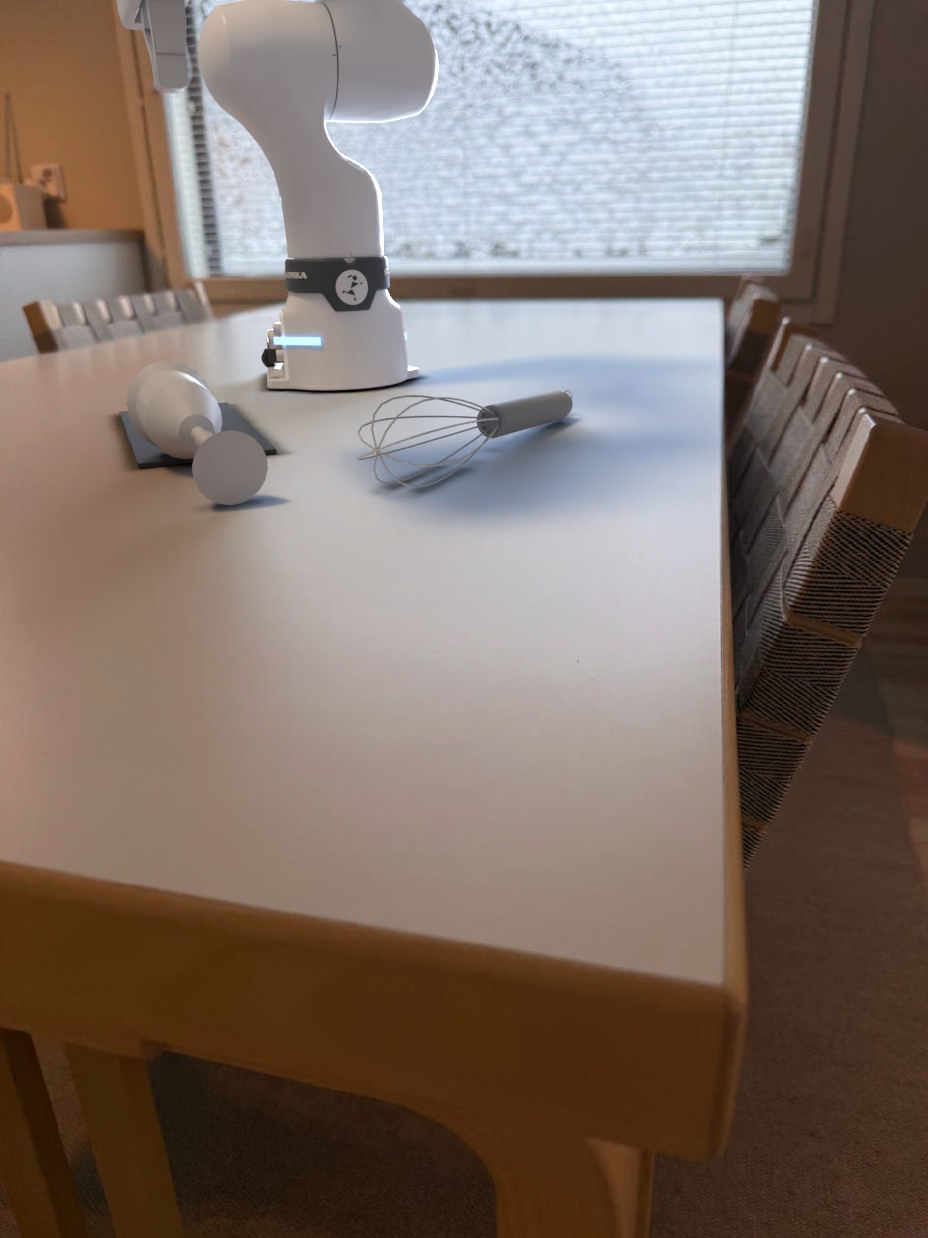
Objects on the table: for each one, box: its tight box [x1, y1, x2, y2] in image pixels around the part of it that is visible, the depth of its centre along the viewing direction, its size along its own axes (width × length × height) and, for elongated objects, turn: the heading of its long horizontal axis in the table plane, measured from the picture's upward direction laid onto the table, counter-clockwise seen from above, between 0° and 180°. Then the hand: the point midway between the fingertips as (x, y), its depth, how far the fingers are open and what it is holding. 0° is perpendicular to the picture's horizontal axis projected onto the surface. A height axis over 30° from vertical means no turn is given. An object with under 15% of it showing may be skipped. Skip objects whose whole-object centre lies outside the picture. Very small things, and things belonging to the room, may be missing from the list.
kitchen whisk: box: [356, 389, 573, 488], centre depth 75 cm, size 6×34×6 cm, turn 152°
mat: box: [118, 401, 278, 469], centre depth 86 cm, size 26×11×1 cm, turn 22°
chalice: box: [126, 360, 269, 506], centre depth 68 cm, size 7×7×18 cm
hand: (172, 90), depth 58 cm, fingers closed
